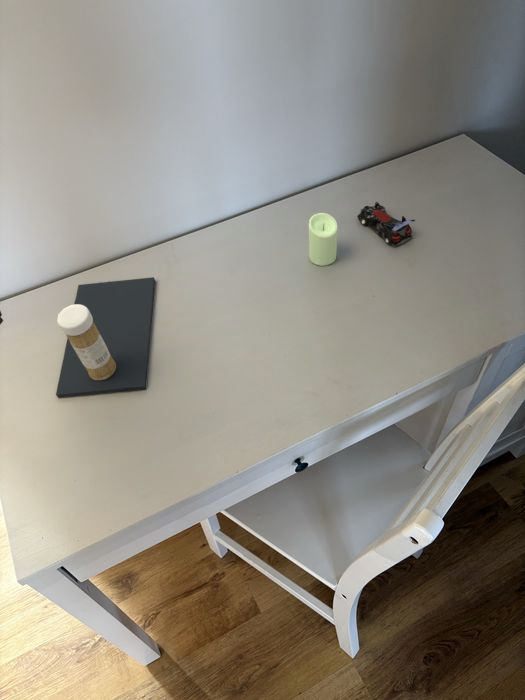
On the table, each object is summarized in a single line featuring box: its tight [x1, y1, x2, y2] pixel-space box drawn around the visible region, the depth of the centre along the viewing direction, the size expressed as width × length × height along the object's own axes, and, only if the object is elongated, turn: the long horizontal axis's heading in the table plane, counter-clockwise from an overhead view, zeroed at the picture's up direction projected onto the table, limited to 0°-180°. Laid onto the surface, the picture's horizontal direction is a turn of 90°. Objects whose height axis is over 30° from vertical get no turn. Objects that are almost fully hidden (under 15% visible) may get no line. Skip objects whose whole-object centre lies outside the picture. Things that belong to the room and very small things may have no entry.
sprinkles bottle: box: [56, 303, 116, 380], centre depth 80 cm, size 5×5×13 cm
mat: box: [55, 276, 156, 399], centre depth 91 cm, size 24×14×1 cm, turn 4°
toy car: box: [356, 201, 416, 248], centre depth 101 cm, size 6×12×4 cm, turn 33°
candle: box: [308, 212, 339, 267], centre depth 96 cm, size 5×5×8 cm
